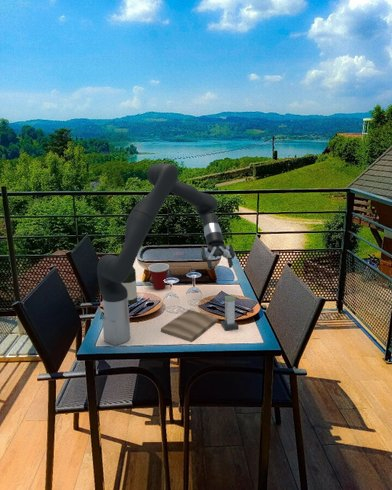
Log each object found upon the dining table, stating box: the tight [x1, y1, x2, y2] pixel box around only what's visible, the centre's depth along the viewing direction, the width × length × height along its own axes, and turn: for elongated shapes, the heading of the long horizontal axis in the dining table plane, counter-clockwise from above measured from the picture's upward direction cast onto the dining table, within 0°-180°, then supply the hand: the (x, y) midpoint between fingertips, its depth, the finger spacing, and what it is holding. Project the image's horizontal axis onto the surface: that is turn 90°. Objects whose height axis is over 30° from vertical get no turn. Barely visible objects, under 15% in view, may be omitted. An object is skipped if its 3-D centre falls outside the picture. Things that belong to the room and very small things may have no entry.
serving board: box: [160, 309, 219, 343], centre depth 149 cm, size 20×15×2 cm
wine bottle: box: [121, 242, 138, 305], centre depth 167 cm, size 8×8×30 cm
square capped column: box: [220, 294, 239, 332], centre depth 147 cm, size 6×6×13 cm
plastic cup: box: [147, 262, 170, 291], centre depth 189 cm, size 11×11×12 cm
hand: (221, 268), depth 154 cm, fingers open, 8 cm apart
